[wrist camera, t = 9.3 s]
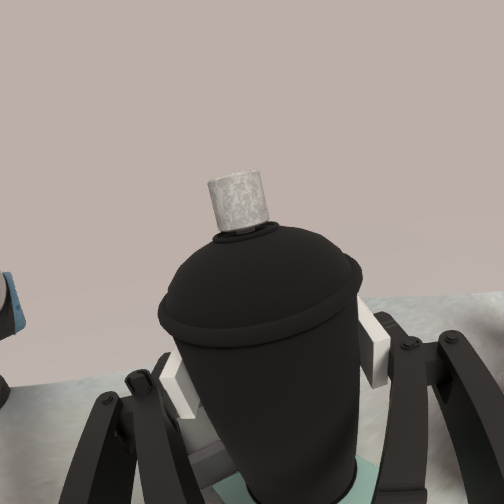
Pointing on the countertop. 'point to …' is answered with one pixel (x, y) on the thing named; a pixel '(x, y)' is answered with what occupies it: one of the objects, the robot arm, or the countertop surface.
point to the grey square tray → (211, 463)
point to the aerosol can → (272, 347)
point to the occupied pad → (355, 500)
